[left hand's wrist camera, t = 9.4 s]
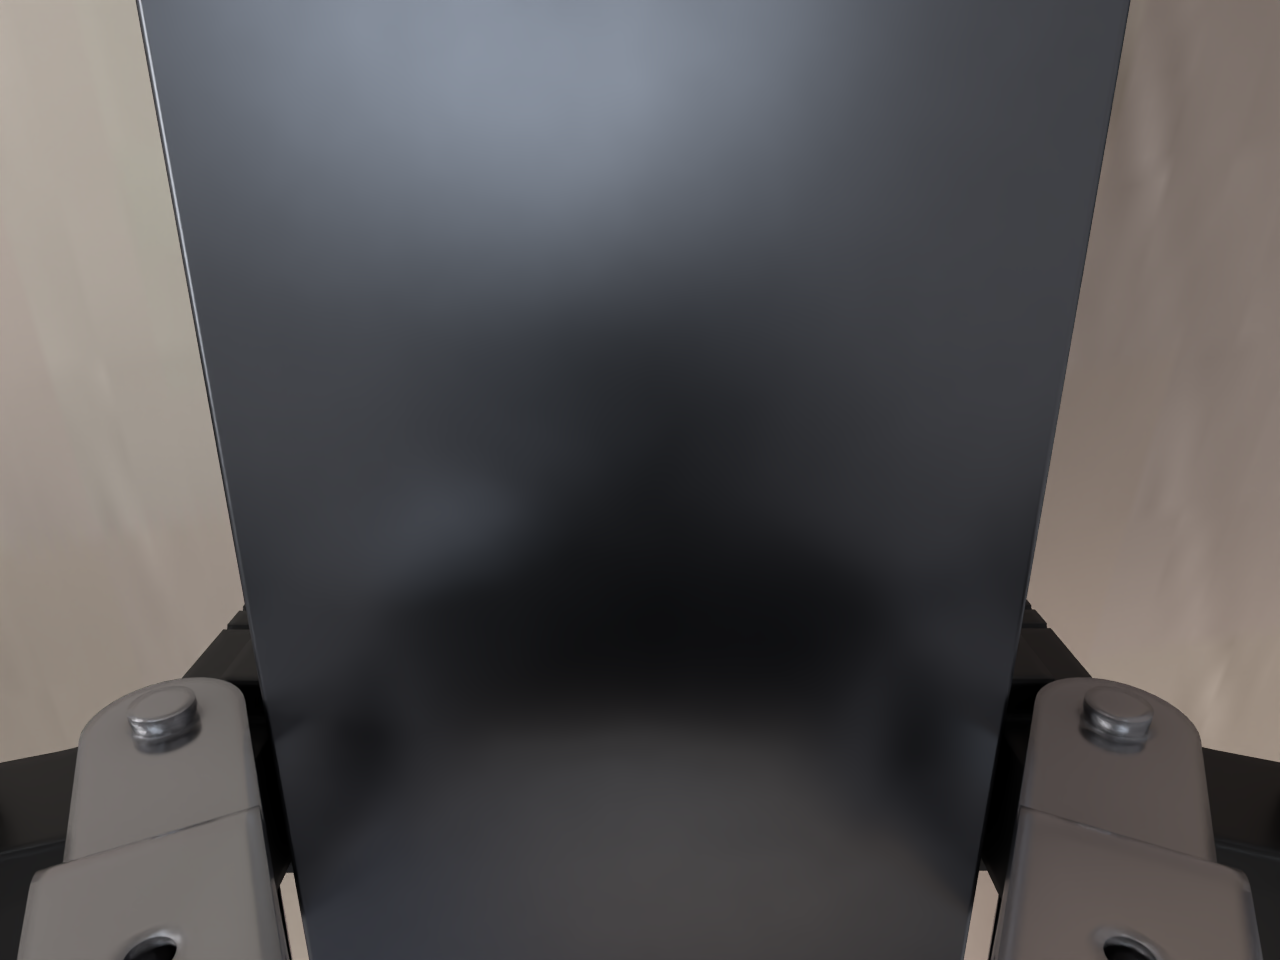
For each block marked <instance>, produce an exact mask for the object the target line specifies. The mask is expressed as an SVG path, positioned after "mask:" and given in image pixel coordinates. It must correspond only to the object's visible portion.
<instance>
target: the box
mask: <svg viewBox="0 0 1280 960" xmlns="http://www.w3.org/2000/svg"><path fill="white" fill-rule="evenodd" d="M136 5H137V10H138V16H139V21H140V27H141V32H142V38H143V43H144V49H145V54H146V60H147V65H148V71H149V76H150V82H151V87H152V93H153V99H154V104H155V110H156V115H157V121H158V126H159V132H160V137H161V143H162V148H163V154H164V159H165V165H166V170H167V176H168V181H169V187H170V192H171V198H172V204H173V209H174V215H175V220H176V226H177V231H178V237H179V242H180V248H181V253H182V259H183V264H184V270H185V275H186V281H187V286H188V292H189V298H190V303H191V309H192V314H193V320H194V325H195V331H196V336H197V342H198V347H199V353H200V358H201V364H202V369H203V375H204V380H205V386H206V391H207V397H208V403H209V408H210V414H211V419H212V425H213V430H214V436H215V441H216V447H217V452H218V458H219V463H220V469H221V474H222V480H223V485H224V491H225V497H226V502H227V508H228V513H229V519H230V524H231V530H232V535H233V541H234V546H235V552H236V557H237V563H238V568H239V574H240V579H241V585H242V590H243V596H244V602H245V607H246V613H247V618H248V624H249V629H250V635H251V640H252V646H253V651H254V657H255V662H256V668H257V673H258V679H259V684H260V690H261V695H262V701H263V707H264V712H265V718H266V723H267V729H268V734H269V740H270V745H271V751H272V756H273V762H274V767H275V773H276V778H277V784H278V789H279V795H280V800H281V806H282V812H283V817H284V823H285V828H286V834H287V839H288V845H289V850H290V856H291V861H292V867H293V872H294V878H295V883H296V889H297V894H298V900H299V906H300V911H301V917H302V922H303V928H304V933H305V939H306V944H307V950H308V955H309V960H964V954H965V948H966V943H967V937H968V931H969V925H970V920H971V914H972V908H973V902H974V897H975V891H976V885H977V879H978V874H979V868H980V862H981V856H982V851H983V845H984V839H985V833H986V828H987V822H988V816H989V810H990V805H991V799H992V793H993V787H994V782H995V776H996V770H997V764H998V759H999V753H1000V747H1001V741H1002V736H1003V730H1004V724H1005V718H1006V713H1007V707H1008V701H1009V695H1010V690H1011V684H1012V678H1013V672H1014V667H1015V661H1016V655H1017V649H1018V644H1019V638H1020V632H1021V626H1022V621H1023V615H1024V609H1025V604H1026V598H1027V592H1028V586H1029V581H1030V575H1031V569H1032V563H1033V558H1034V552H1035V546H1036V540H1037V535H1038V529H1039V523H1040V517H1041V512H1042V506H1043V500H1044V494H1045V489H1046V483H1047V477H1048V471H1049V466H1050V460H1051V454H1052V448H1053V443H1054V437H1055V431H1056V425H1057V420H1058V414H1059V408H1060V402H1061V397H1062V391H1063V385H1064V379H1065V374H1066V368H1067V362H1068V356H1069V351H1070V345H1071V339H1072V333H1073V328H1074V322H1075V316H1076V310H1077V305H1078V299H1079V293H1080V287H1081V282H1082V276H1083V270H1084V264H1085V259H1086V253H1087V247H1088V241H1089V236H1090V230H1091V224H1092V218H1093V213H1094V207H1095V201H1096V195H1097V190H1098V184H1099V178H1100V172H1101V167H1102V161H1103V155H1104V149H1105V144H1106V138H1107V132H1108V126H1109V121H1110V115H1111V109H1112V103H1113V98H1114V92H1115V86H1116V80H1117V75H1118V69H1119V63H1120V57H1121V52H1122V46H1123V40H1124V34H1125V29H1126V23H1127V17H1128V12H1129V6H1130V0H136Z"/></svg>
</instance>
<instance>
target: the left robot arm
mask: <svg viewBox="0 0 1280 960" xmlns="http://www.w3.org/2000/svg"><path fill="white" fill-rule="evenodd" d="M227 626H228V627H227V630H223V631H222V632H221V633H220V634H219V635H218V636H217V638H216V639H215V640H214V641H213V642H212V643H211V645H210V646H209V647H208V648H207V649H206V651H205V652H204V653H203V654H202V655H201V656H200V658H199V659H198V660H197V661H196V662H195V663H194V665H193V666H192V667H191V668H190V669H189V670H188V672H187V673H186V674H185V675H184V676H183V678H182V679H175V680H170V681H165V682H161V683H157V684H153V685H150V686H147V687H144V688H142V689H139V690H136V691H134V692H132V693H129V694H127V695H125V696H123V697H121V698H119V699H117V700H116V701H114V702H112V703H111V704H109V705H108V706H106V707H105V708H103V709H102V710H101V711H99V712H98V713H97V714H96V715H95V716H94V717H93V718H92V719H91V720H90V721H89V722H88V723H87V724H86V726H85V727H84V729H83V731H82V732H81V736H80V739H79V745H78V747H76V748H72V749H68V750H64V751H59V752H54V753H49V754H44V755H39V756H33V757H28V758H23V759H18V760H13V761H7V762H2V763H0V960H293V959H292V952H291V946H290V940H289V934H288V928H287V922H286V916H285V911H284V905H283V900H282V895H281V889H280V884H281V882H282V880H283V878H284V876H285V873H294V872H293V867H292V861H291V856H290V850H289V845H288V839H287V834H286V828H285V823H284V817H283V812H282V806H281V800H280V795H279V789H278V784H277V778H276V773H275V767H274V762H273V756H272V751H271V745H270V740H269V734H268V729H267V723H266V718H265V712H264V707H263V701H262V695H261V690H260V684H259V679H258V673H257V668H256V662H255V657H254V651H253V646H252V640H251V635H250V629H249V624H248V618H247V613H246V607H245V605H244V606H243V611H239V612H238V613H237V614H236V615H235V616H234V618H233V619H232V620H231V621H230V622H229V623H228V625H227ZM979 871H988V873H989V875H990V877H991V879H992V881H993V884H994V886H995V888H996V890H997V892H998V894H999V895H998V900H997V906H996V911H995V916H994V922H993V928H992V934H991V941H990V947H989V953H988V959H987V960H1280V762H1275V761H1270V760H1264V759H1259V758H1254V757H1249V756H1243V755H1238V754H1233V753H1228V752H1223V751H1217V750H1213V749H1208V748H1204V747H1202V745H1201V739H1200V736H1199V732H1198V731H1197V729H1196V727H1195V726H1194V724H1193V723H1192V722H1191V721H1190V720H1189V719H1188V718H1187V716H1185V715H1184V714H1183V713H1182V712H1181V711H1179V710H1178V709H1177V708H1175V707H1174V706H1172V705H1171V704H1169V703H1168V702H1166V701H1164V700H1163V699H1161V698H1159V697H1157V696H1155V695H1153V694H1151V693H1148V692H1146V691H1144V690H1141V689H1139V688H1136V687H1133V686H1130V685H1127V684H1123V683H1119V682H1115V681H1110V680H1105V679H1098V678H1092V677H1091V676H1090V674H1089V673H1088V672H1087V671H1086V670H1085V668H1084V667H1083V666H1082V665H1081V664H1080V663H1079V661H1078V660H1077V659H1076V658H1075V657H1074V655H1073V654H1072V653H1071V652H1070V651H1069V649H1068V648H1067V647H1066V646H1065V645H1064V644H1063V642H1062V641H1061V640H1060V639H1059V638H1058V636H1057V635H1056V634H1055V633H1054V632H1053V630H1052V629H1051V628H1047V623H1046V622H1045V621H1044V620H1043V619H1042V617H1041V616H1040V615H1039V614H1038V613H1037V611H1036V610H1032V609H1031V604H1030V603H1029V602H1028V601H1027V599H1026V604H1025V609H1024V615H1023V621H1022V626H1021V632H1020V638H1019V644H1018V649H1017V655H1016V661H1015V667H1014V672H1013V678H1012V684H1011V690H1010V695H1009V701H1008V707H1007V713H1006V718H1005V724H1004V730H1003V736H1002V741H1001V747H1000V753H999V759H998V764H997V770H996V776H995V782H994V787H993V793H992V799H991V805H990V810H989V816H988V822H987V828H986V833H985V839H984V845H983V851H982V856H981V862H980V868H979Z"/></svg>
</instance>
